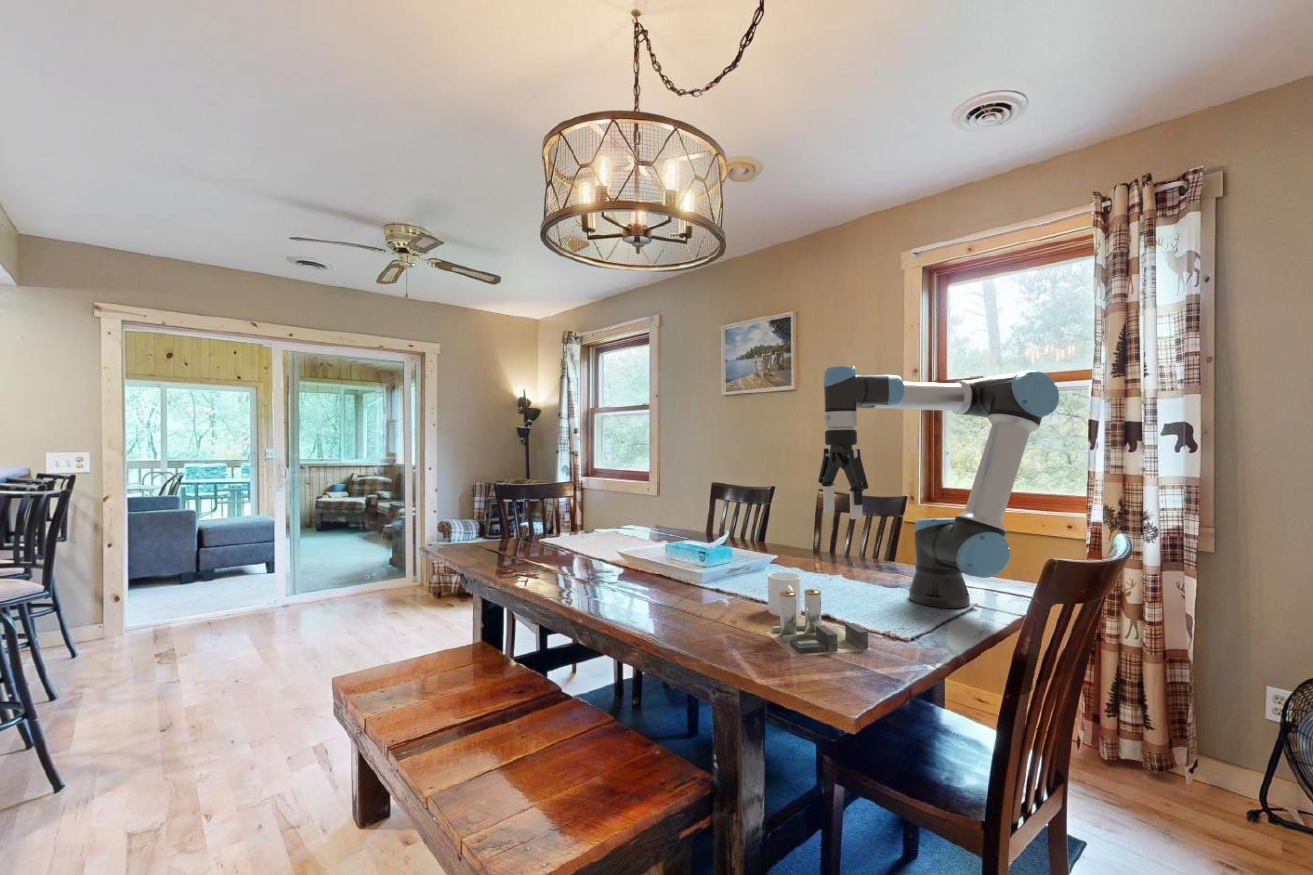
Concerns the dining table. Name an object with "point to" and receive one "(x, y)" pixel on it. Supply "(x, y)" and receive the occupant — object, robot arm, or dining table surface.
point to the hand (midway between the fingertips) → (842, 515)
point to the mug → (783, 583)
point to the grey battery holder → (822, 640)
